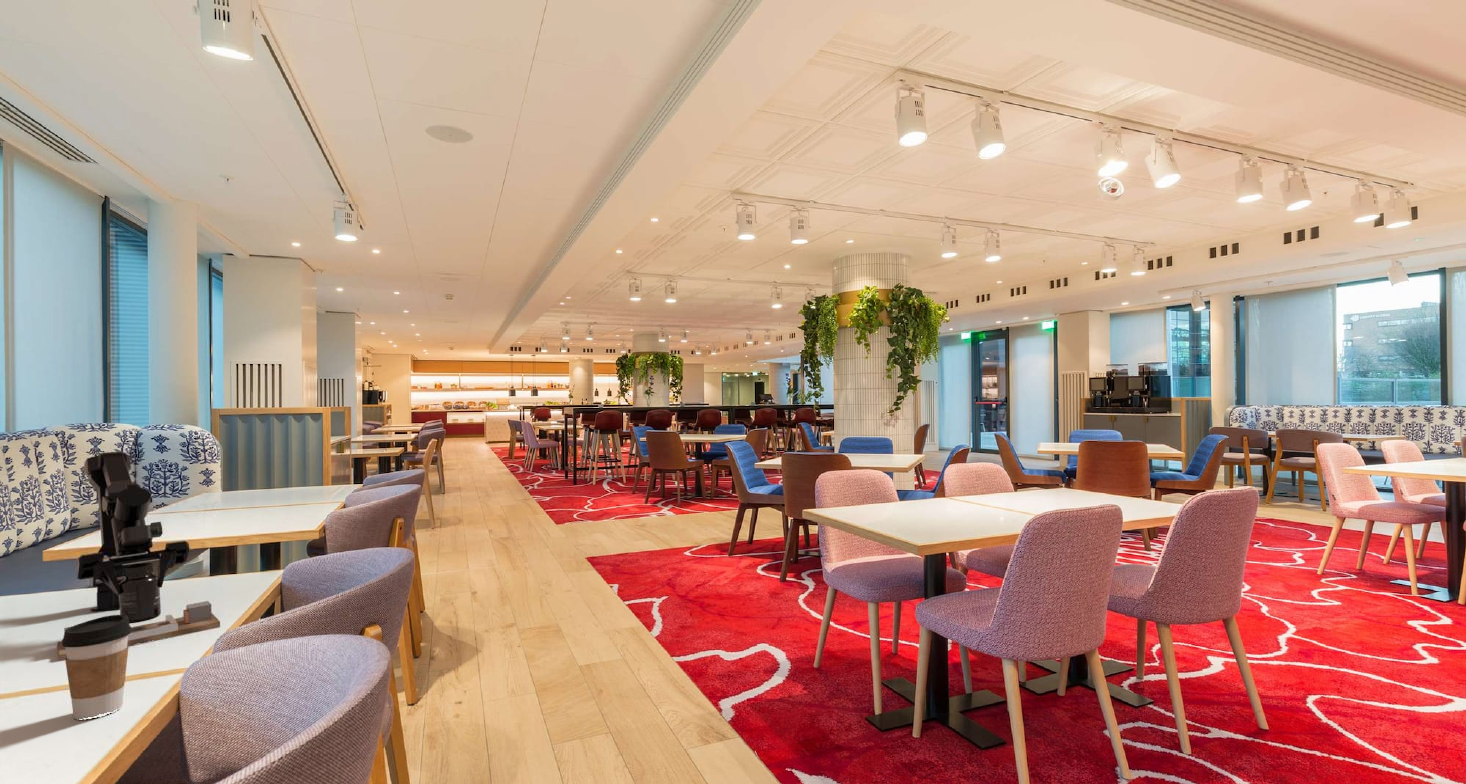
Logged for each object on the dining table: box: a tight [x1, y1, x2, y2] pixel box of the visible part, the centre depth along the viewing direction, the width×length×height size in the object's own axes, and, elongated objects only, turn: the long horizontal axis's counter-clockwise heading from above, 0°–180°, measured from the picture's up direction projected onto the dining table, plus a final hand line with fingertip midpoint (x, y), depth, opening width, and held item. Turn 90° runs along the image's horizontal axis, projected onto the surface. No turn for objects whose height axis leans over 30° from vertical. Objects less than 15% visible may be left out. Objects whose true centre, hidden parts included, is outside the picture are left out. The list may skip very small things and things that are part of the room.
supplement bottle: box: [119, 562, 162, 624], centre depth 149 cm, size 7×7×12 cm
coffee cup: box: [61, 614, 131, 720], centre depth 112 cm, size 8×8×15 cm
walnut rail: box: [56, 600, 221, 662], centre depth 148 cm, size 26×11×5 cm, turn 137°
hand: (140, 590), depth 148 cm, fingers closed on supplement bottle, 7 cm apart
